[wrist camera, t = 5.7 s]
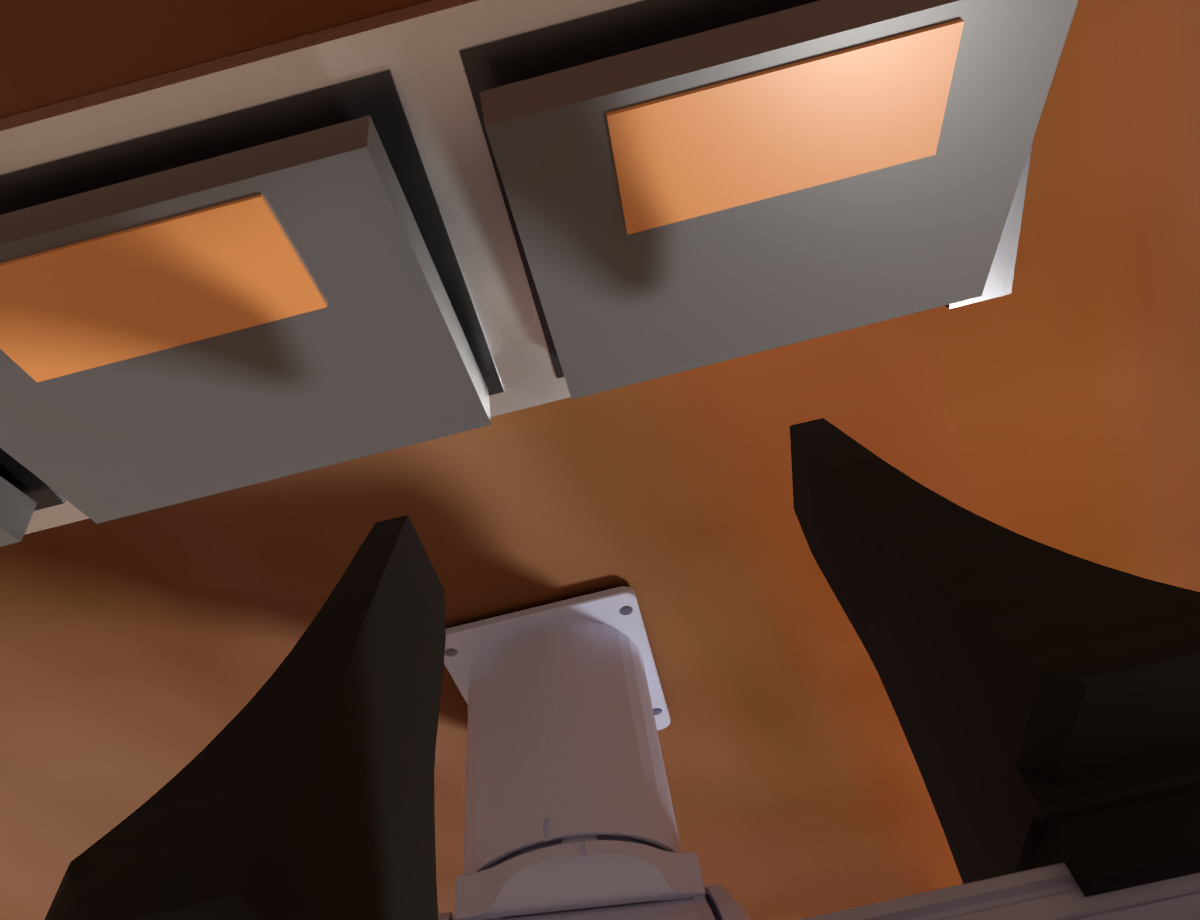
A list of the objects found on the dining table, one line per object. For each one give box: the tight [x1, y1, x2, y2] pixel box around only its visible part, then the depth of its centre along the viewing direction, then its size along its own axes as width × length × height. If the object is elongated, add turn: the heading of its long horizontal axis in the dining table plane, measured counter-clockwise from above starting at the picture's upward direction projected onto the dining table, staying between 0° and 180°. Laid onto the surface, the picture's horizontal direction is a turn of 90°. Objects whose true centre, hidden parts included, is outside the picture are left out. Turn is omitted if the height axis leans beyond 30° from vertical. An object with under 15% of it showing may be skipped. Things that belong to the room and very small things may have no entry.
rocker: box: [0, 115, 491, 524], centre depth 16 cm, size 7×10×2 cm
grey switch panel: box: [0, 0, 1033, 535], centre depth 18 cm, size 9×37×3 cm, turn 103°
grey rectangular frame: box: [480, 0, 1078, 399], centre depth 15 cm, size 7×10×2 cm
